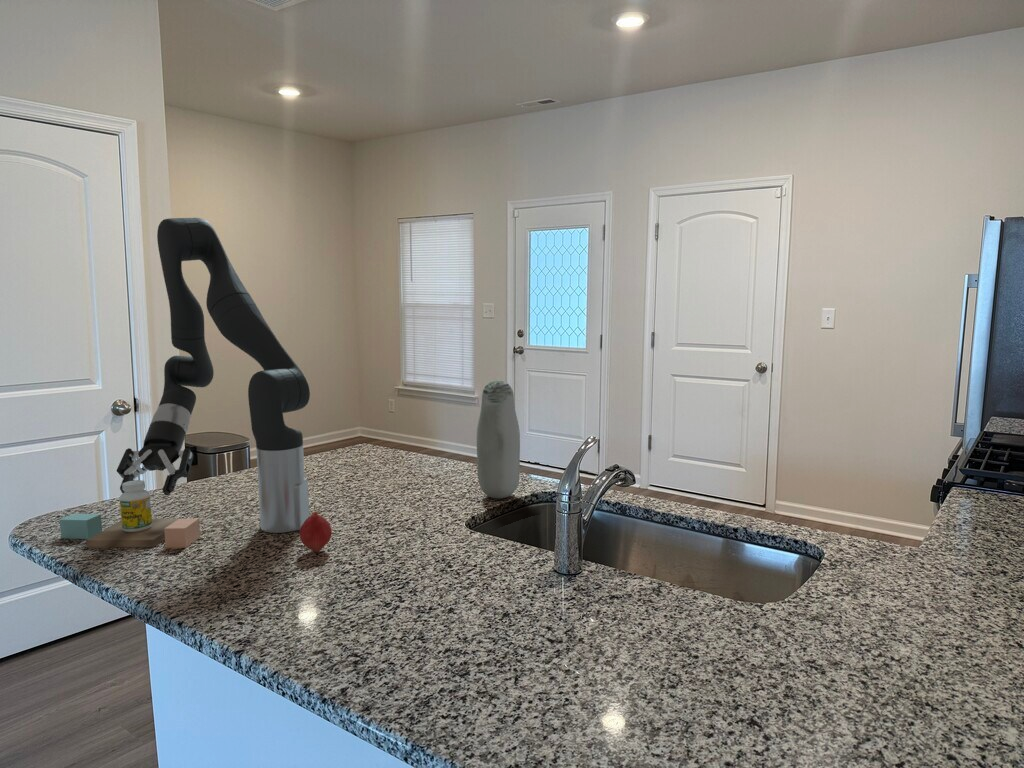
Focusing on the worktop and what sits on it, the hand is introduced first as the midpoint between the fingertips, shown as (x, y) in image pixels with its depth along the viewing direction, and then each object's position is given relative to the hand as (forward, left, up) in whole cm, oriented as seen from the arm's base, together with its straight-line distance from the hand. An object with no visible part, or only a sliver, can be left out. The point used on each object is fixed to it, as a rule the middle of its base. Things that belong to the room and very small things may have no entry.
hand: (145, 493), depth 142 cm
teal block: (+12, +3, -8) cm, 15 cm away
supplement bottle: (0, +4, -6) cm, 7 cm away
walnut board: (0, +4, -8) cm, 9 cm away
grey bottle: (-73, -21, -8) cm, 76 cm away
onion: (-39, +14, -8) cm, 42 cm away
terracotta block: (-11, +8, -8) cm, 16 cm away
